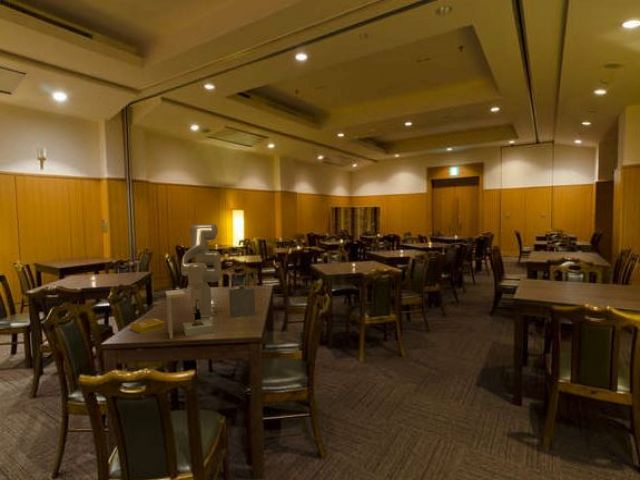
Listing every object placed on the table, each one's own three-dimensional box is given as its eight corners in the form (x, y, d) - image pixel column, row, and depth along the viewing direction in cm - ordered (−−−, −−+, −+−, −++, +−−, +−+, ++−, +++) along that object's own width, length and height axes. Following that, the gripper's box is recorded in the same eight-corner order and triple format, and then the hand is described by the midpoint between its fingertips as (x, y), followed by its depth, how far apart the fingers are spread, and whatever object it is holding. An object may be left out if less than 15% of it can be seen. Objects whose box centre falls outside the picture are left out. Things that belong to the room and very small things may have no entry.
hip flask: (254, 314, 253) (253, 284, 252) (255, 315, 249) (254, 285, 248) (230, 316, 249) (228, 285, 248) (230, 317, 245) (228, 286, 244)
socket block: (167, 332, 216) (165, 291, 215) (208, 326, 226) (206, 287, 225) (169, 339, 204) (167, 295, 202) (212, 332, 213) (210, 290, 212)
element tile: (166, 328, 225) (165, 320, 225) (140, 335, 214) (140, 326, 214) (154, 324, 235) (154, 316, 235) (129, 330, 224) (128, 322, 223)
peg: (193, 324, 217) (192, 303, 217) (200, 323, 219) (199, 303, 218) (194, 326, 214) (193, 305, 213) (201, 325, 215) (200, 304, 215)
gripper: (187, 285, 221) (188, 316, 222) (190, 289, 206) (192, 322, 207) (200, 283, 224) (201, 314, 225) (205, 287, 209) (206, 321, 210)
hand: (197, 318), depth 216 cm, fingers closed on peg, 4 cm apart
